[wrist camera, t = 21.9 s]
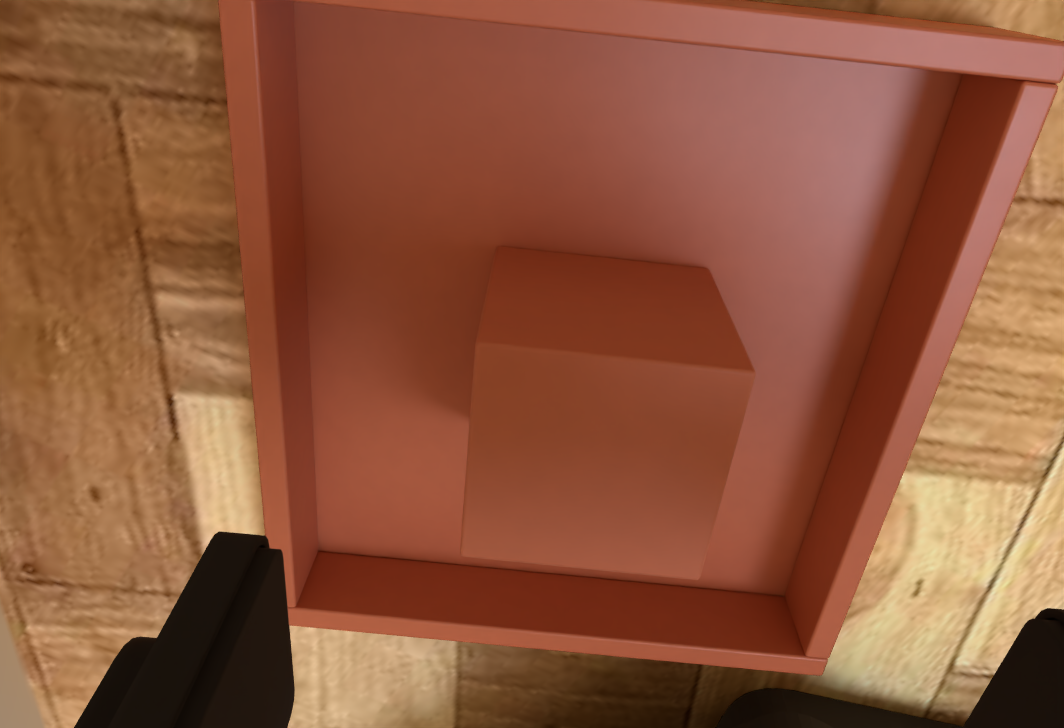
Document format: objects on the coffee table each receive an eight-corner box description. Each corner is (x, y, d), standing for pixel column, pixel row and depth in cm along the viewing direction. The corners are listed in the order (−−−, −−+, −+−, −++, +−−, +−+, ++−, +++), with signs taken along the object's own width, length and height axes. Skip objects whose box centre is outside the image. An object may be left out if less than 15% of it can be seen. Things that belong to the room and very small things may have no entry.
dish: (267, -53, 14) (211, -52, 12) (997, 28, 14) (1078, 44, 12) (302, 552, 21) (272, 624, 18) (795, 599, 21) (822, 677, 19)
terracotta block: (496, 244, 16) (474, 341, 12) (710, 267, 16) (758, 372, 12) (481, 425, 18) (459, 558, 14) (670, 444, 18) (700, 581, 14)
